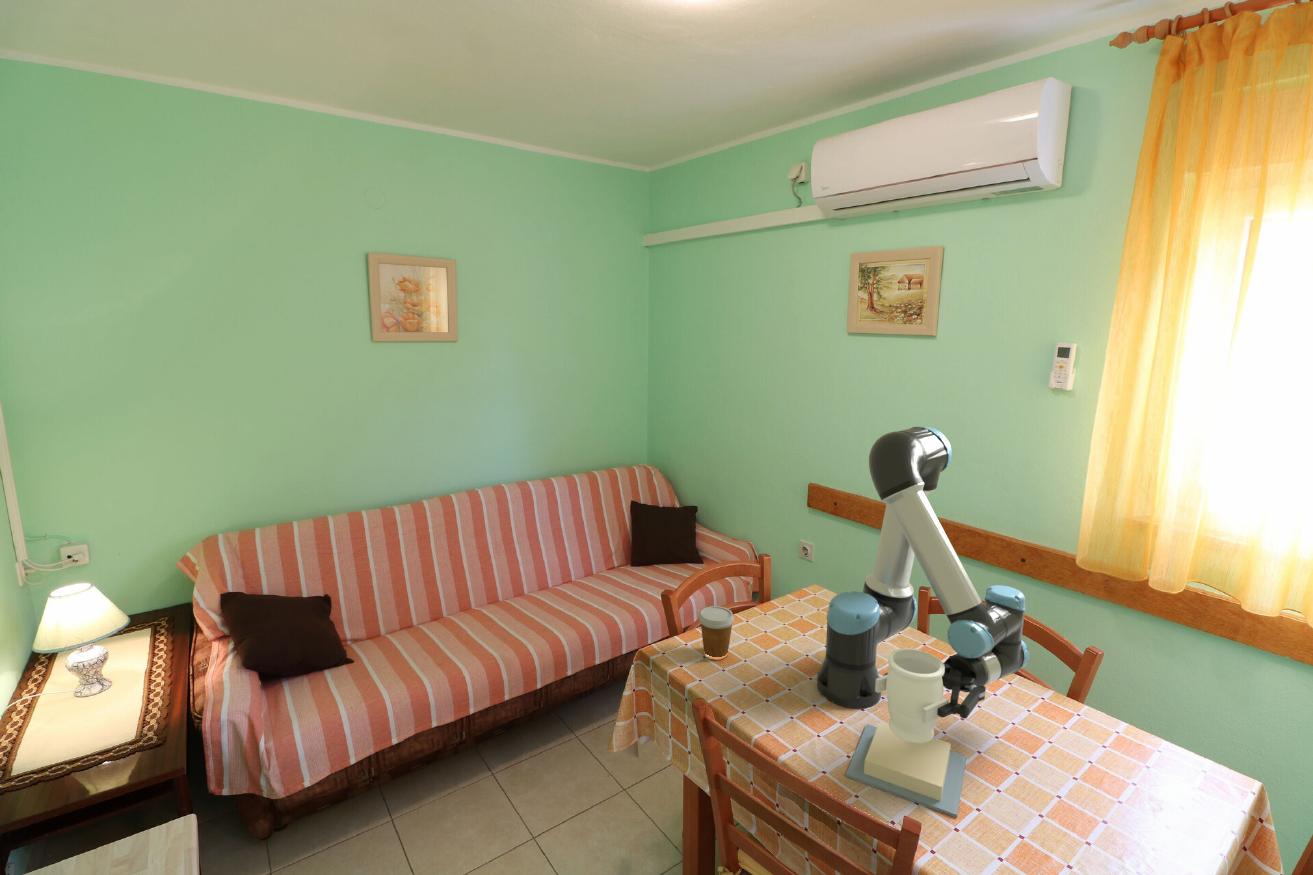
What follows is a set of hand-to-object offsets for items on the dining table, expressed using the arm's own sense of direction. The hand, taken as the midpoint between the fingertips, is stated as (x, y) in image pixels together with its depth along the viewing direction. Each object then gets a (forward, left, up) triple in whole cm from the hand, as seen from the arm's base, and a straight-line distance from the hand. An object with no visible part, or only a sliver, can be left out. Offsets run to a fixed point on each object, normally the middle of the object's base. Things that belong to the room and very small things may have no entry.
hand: (899, 700), depth 120 cm
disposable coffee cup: (-50, +23, -17) cm, 57 cm away
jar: (+2, +4, -8) cm, 9 cm away
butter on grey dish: (+2, +4, -16) cm, 17 cm away
